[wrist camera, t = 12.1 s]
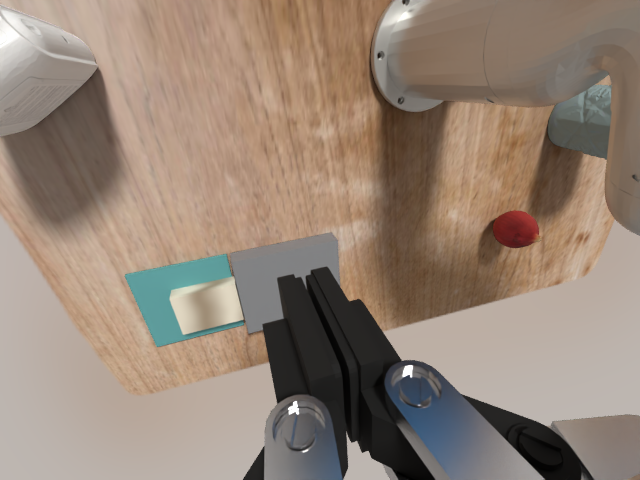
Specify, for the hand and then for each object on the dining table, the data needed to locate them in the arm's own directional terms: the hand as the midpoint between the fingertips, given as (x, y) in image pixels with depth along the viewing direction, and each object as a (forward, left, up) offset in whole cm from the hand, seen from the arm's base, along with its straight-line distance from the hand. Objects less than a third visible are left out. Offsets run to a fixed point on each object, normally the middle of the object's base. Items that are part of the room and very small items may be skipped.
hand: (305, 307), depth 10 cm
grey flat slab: (-3, +19, -29) cm, 35 cm away
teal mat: (+10, +19, -29) cm, 36 cm away
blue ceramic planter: (-49, +2, -29) cm, 57 cm away
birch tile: (+8, +19, -29) cm, 36 cm away
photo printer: (+16, -8, -29) cm, 34 cm away
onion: (-39, +17, -29) cm, 52 cm away
